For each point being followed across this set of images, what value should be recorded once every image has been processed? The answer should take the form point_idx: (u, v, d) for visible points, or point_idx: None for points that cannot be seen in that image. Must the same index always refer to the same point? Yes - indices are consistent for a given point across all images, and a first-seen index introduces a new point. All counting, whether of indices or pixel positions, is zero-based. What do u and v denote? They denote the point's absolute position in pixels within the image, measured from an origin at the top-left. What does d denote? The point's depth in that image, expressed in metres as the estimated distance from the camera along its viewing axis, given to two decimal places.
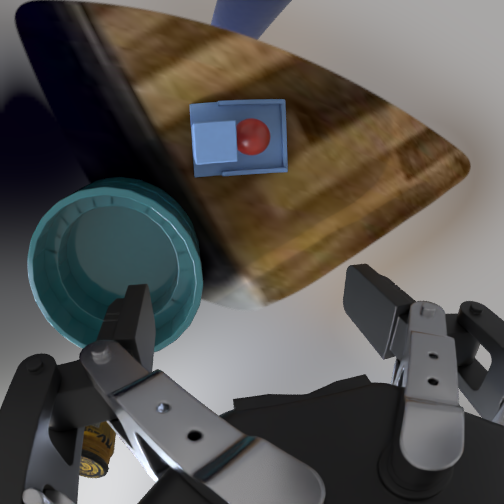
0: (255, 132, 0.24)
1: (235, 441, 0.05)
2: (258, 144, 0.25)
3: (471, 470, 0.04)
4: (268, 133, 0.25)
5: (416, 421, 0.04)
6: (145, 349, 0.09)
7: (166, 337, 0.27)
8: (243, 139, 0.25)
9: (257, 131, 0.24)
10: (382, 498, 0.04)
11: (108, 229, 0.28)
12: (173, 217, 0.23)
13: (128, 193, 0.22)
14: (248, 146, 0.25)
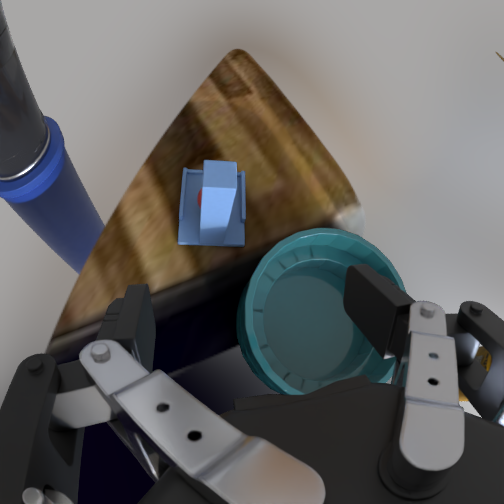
0: None
1: (234, 441, 0.05)
2: None
3: (471, 470, 0.04)
4: None
5: (416, 421, 0.04)
6: (145, 349, 0.09)
7: (389, 271, 0.28)
8: None
9: None
10: (382, 498, 0.04)
11: (286, 330, 0.30)
12: (279, 243, 0.27)
13: (254, 279, 0.26)
14: None
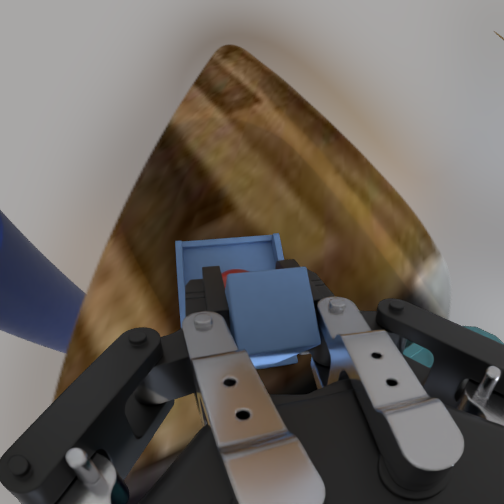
0: None
1: (274, 432, 0.05)
2: None
3: (471, 470, 0.04)
4: None
5: (416, 421, 0.04)
6: None
7: None
8: None
9: None
10: (382, 498, 0.04)
11: None
12: None
13: None
14: None
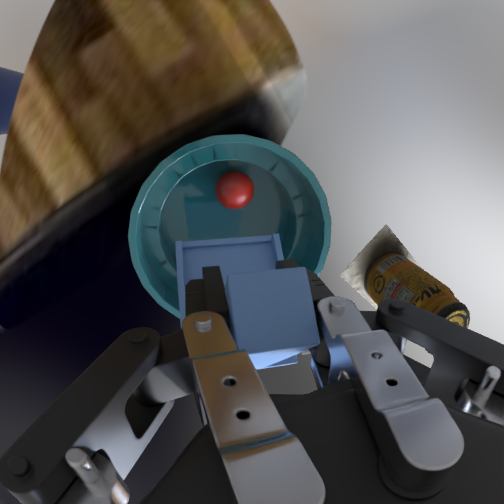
0: None
1: (274, 432, 0.05)
2: None
3: (471, 470, 0.04)
4: None
5: (416, 421, 0.04)
6: None
7: (310, 184, 0.23)
8: None
9: None
10: (382, 498, 0.04)
11: (194, 231, 0.28)
12: (160, 164, 0.21)
13: (134, 211, 0.22)
14: None
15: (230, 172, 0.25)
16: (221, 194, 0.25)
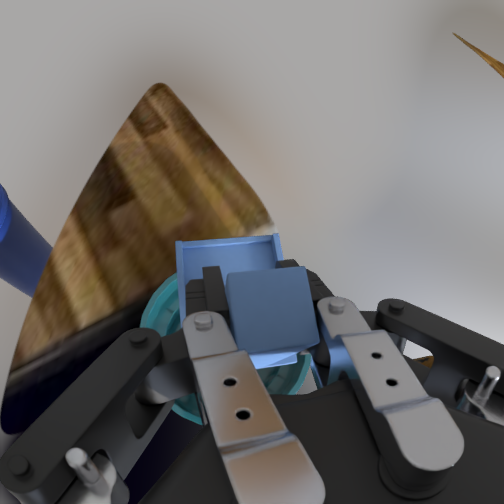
0: None
1: (274, 432, 0.05)
2: None
3: (471, 470, 0.04)
4: None
5: (416, 421, 0.04)
6: None
7: None
8: None
9: None
10: (382, 498, 0.04)
11: None
12: (167, 279, 0.28)
13: (145, 315, 0.27)
14: None
15: None
16: None
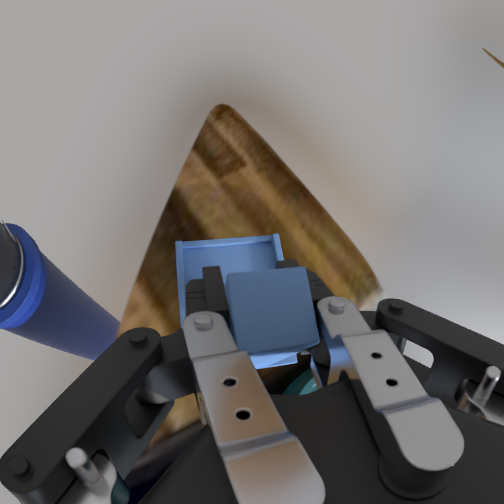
0: None
1: (274, 432, 0.05)
2: None
3: (471, 470, 0.04)
4: None
5: (416, 421, 0.04)
6: None
7: None
8: None
9: None
10: (382, 498, 0.04)
11: None
12: (307, 384, 0.23)
13: None
14: None
15: None
16: None
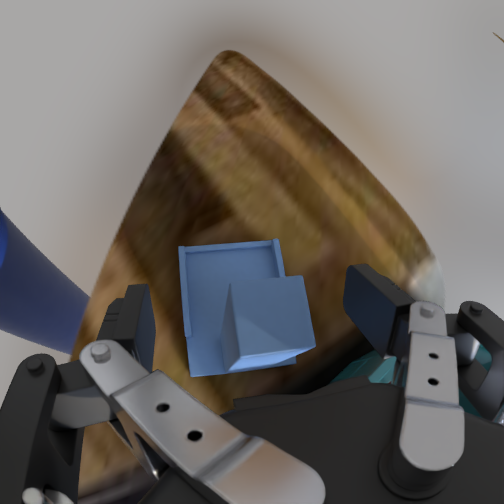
0: None
1: (234, 441, 0.05)
2: None
3: (471, 470, 0.04)
4: None
5: (416, 421, 0.04)
6: (145, 349, 0.09)
7: None
8: None
9: None
10: (382, 498, 0.04)
11: None
12: None
13: None
14: None
15: None
16: None
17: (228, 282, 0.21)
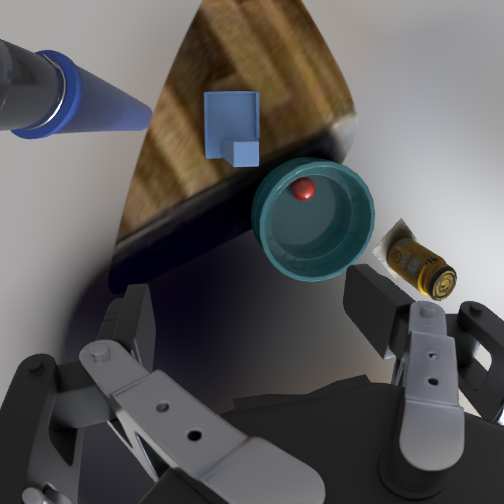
0: None
1: (234, 441, 0.05)
2: None
3: (471, 470, 0.04)
4: None
5: (416, 421, 0.04)
6: (145, 349, 0.09)
7: (364, 192, 0.39)
8: None
9: None
10: (382, 498, 0.04)
11: (285, 218, 0.43)
12: (285, 176, 0.36)
13: (266, 203, 0.36)
14: None
15: (299, 178, 0.40)
16: (301, 193, 0.39)
17: (229, 112, 0.37)
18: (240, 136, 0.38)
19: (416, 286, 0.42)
